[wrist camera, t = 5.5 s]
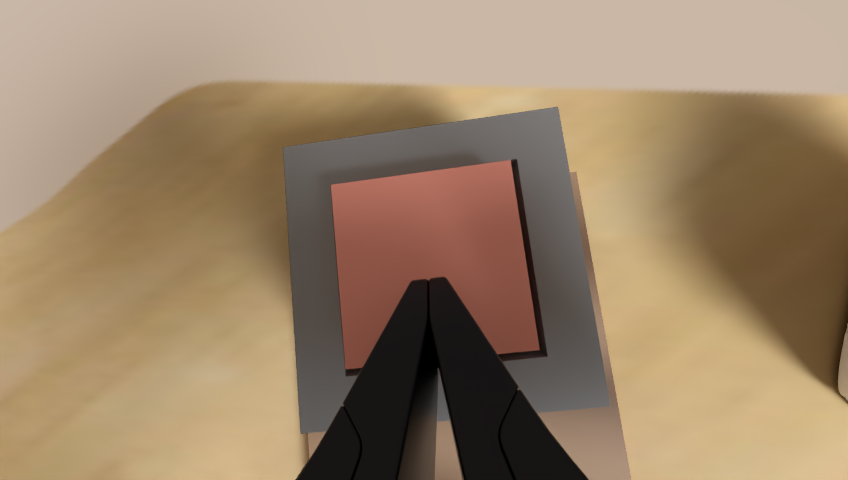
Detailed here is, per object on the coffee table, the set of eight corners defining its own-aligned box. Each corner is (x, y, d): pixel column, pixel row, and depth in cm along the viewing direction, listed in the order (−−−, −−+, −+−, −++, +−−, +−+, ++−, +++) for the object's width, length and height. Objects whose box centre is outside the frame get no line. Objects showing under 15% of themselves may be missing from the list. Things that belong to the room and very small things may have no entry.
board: (636, 570, 15) (651, 594, 14) (328, 587, 16) (319, 611, 15) (568, 179, 18) (576, 171, 17) (303, 214, 19) (293, 209, 18)
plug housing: (551, 360, 16) (610, 406, 10) (356, 379, 16) (300, 433, 10) (521, 168, 17) (558, 106, 11) (340, 193, 18) (282, 147, 12)
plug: (505, 323, 15) (539, 350, 9) (388, 336, 15) (345, 369, 9) (488, 207, 15) (510, 160, 9) (377, 222, 16) (330, 184, 10)
